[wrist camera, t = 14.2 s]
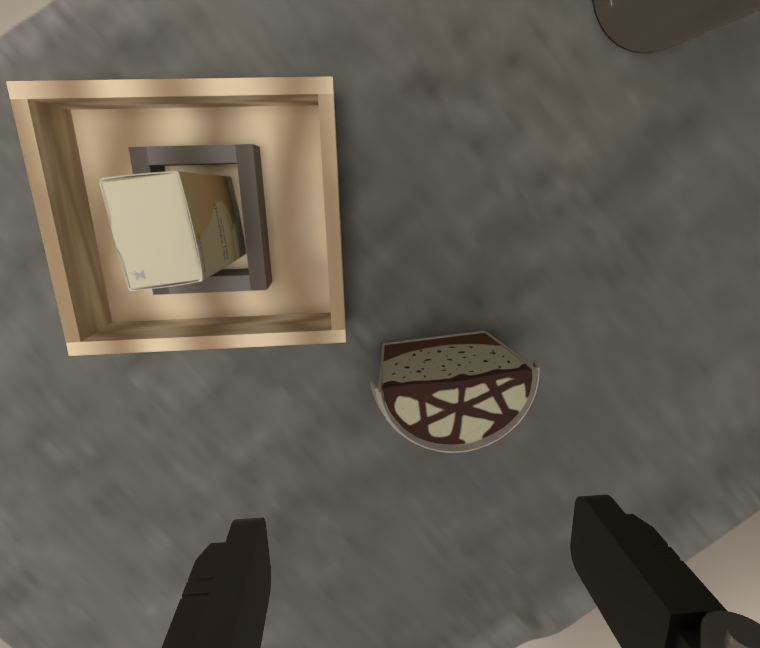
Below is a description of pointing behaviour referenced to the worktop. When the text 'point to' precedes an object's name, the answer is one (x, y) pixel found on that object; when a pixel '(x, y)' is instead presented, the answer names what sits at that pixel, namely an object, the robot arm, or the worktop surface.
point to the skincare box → (173, 226)
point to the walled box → (196, 155)
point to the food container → (454, 390)
